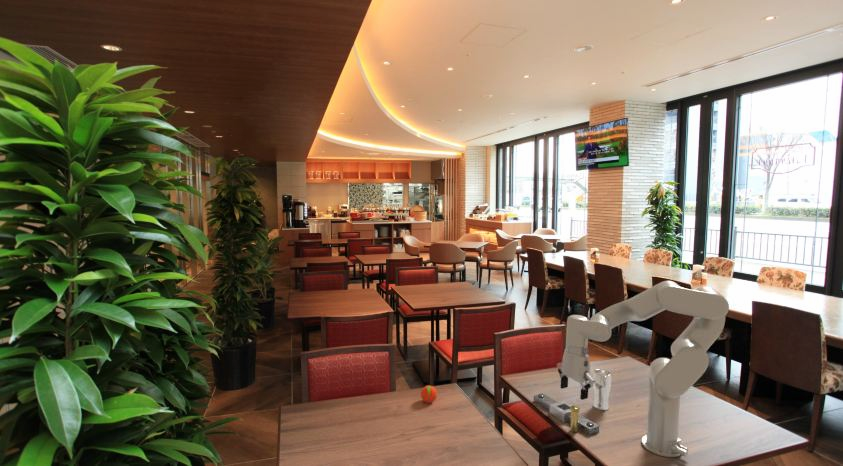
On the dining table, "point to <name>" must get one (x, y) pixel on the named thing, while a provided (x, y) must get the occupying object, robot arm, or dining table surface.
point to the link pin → (574, 418)
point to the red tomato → (428, 394)
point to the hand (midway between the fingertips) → (573, 393)
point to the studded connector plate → (565, 413)
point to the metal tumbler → (601, 388)
